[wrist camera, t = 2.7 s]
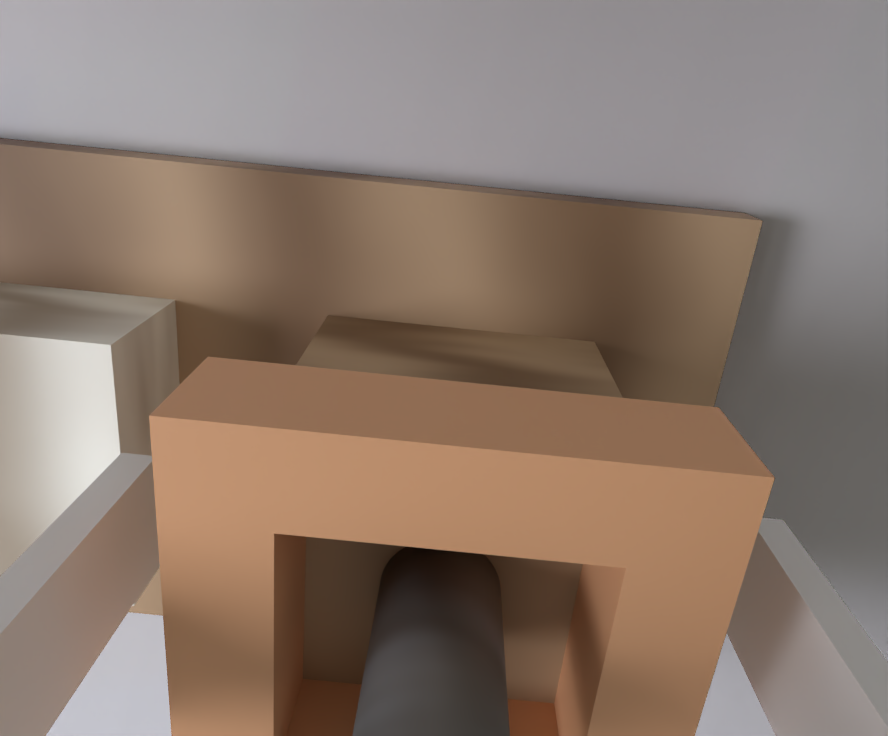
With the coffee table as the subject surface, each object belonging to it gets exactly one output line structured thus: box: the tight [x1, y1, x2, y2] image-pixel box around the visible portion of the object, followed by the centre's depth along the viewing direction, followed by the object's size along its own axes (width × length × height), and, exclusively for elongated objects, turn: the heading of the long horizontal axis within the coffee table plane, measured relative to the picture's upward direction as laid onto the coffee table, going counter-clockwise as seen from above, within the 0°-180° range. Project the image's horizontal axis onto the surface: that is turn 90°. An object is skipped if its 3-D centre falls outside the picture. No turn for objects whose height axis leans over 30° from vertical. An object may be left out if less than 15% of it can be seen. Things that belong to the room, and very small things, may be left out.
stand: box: [0, 138, 763, 736], centre depth 15 cm, size 24×14×12 cm, turn 85°
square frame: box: [149, 357, 775, 736], centre depth 13 cm, size 9×9×2 cm
